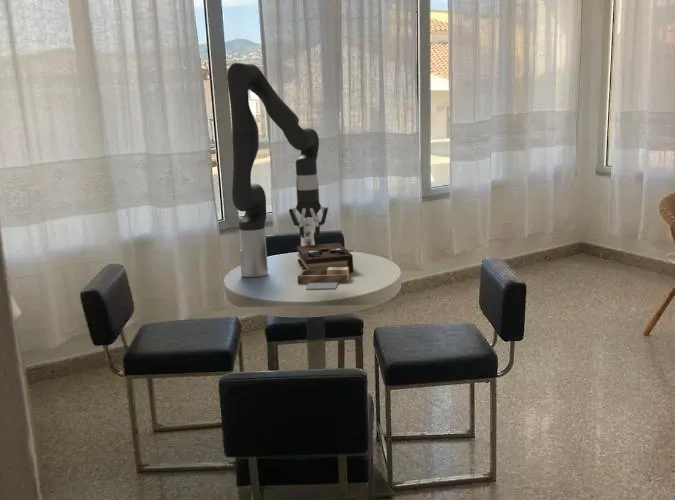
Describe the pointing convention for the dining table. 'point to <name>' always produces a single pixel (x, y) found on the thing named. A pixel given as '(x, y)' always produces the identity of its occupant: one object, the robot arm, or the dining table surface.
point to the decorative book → (324, 257)
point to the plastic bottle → (308, 232)
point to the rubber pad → (321, 285)
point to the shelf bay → (319, 276)
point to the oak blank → (338, 271)
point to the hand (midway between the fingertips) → (310, 236)
